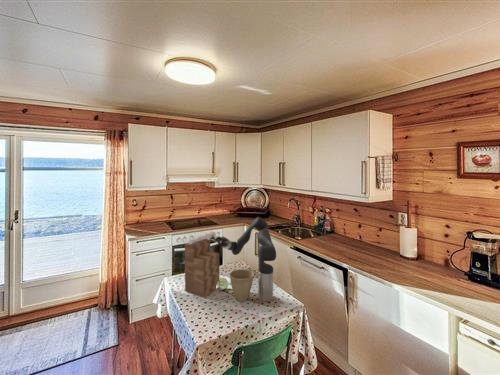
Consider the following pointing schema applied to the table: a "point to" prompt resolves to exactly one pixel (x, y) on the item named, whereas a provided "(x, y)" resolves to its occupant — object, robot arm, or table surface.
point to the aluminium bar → (201, 238)
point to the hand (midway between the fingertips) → (213, 236)
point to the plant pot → (241, 283)
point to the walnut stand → (201, 268)
